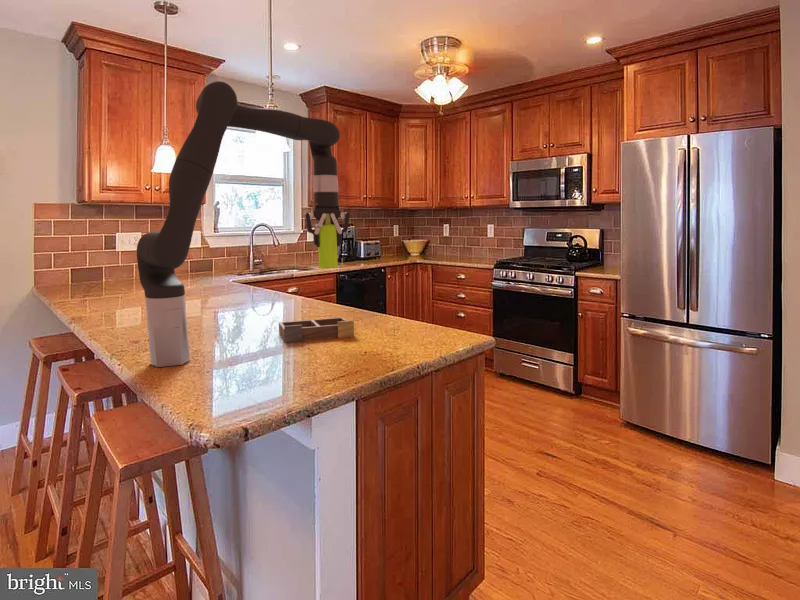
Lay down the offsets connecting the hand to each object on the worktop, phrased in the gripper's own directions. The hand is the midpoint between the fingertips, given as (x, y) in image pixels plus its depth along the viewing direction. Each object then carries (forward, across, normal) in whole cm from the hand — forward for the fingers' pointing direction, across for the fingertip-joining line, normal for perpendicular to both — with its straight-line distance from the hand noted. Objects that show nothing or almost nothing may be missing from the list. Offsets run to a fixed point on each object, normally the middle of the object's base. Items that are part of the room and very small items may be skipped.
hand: (327, 246), depth 160 cm
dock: (+28, -5, 0) cm, 28 cm away
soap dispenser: (+7, 0, 0) cm, 7 cm away
